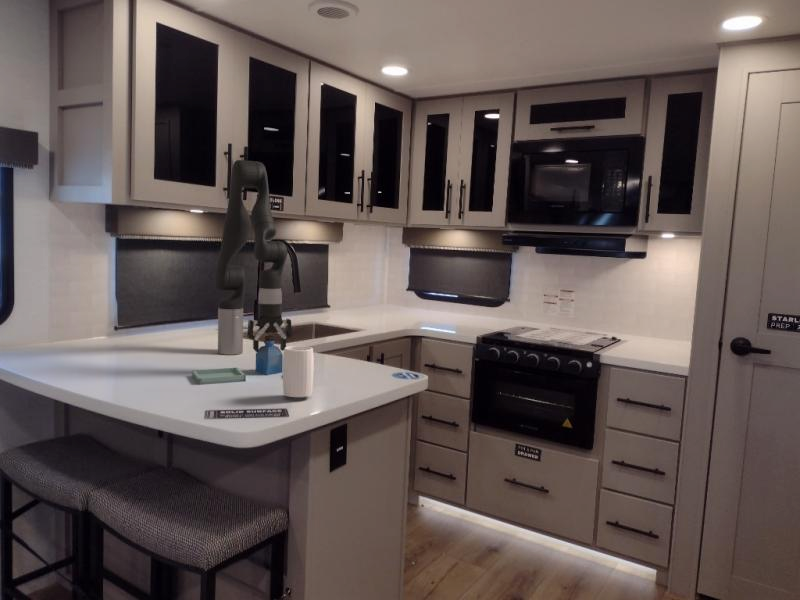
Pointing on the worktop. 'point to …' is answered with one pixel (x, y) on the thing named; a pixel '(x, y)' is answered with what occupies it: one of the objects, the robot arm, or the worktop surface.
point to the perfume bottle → (269, 358)
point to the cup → (298, 371)
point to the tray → (218, 375)
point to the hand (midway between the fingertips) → (269, 350)
